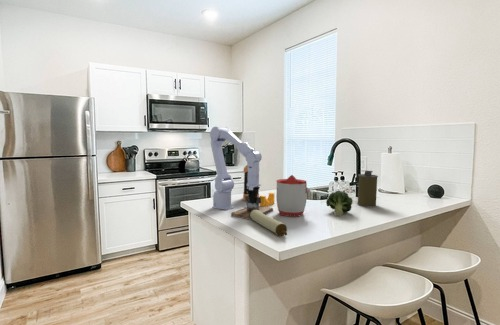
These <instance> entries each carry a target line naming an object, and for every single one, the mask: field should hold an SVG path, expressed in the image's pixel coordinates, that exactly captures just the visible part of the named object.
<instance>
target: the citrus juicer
mask: <svg viewBox="0 0 500 325" xmlns="http://www.w3.org/2000/svg"><path fill="white" fill-rule="evenodd" d="M275 181H276V197H275V198H276V205H277V210H278V213H279V214H280V215H281V216H282V217H301V216H302V215H303V214H304V212H305V209H306V204H307V197H308V196H307V194H308V193H312V191H311V189H310V188H309V187H307V180H304V179H298V178H297V177H295V176H294V175H293V174H291V175H289V176H288V177H287V178H283V179H281V178H280V179H276V180H275Z"/></svg>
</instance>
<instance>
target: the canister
mask: <svg viewBox="0 0 500 325" xmlns="http://www.w3.org/2000/svg"><path fill="white" fill-rule="evenodd" d="M373 172H374V170H365V171H364V174H363V173H361V174H360V173H358V174H357V175H356V176H357V180H356V186H357V203H356V204H357V206H359V207H363V208H364V207H366V208H375V207H377V193H378V192H377V190H378V189H377V188H378V177H379V176H378V175H377V174H372V173H373Z"/></svg>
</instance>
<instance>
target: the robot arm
mask: <svg viewBox="0 0 500 325" xmlns="http://www.w3.org/2000/svg"><path fill="white" fill-rule="evenodd" d="M209 136H210V147H211V151H212V155H213V160H214V164H215V170H216V174H217V175H216V176H215V178H214V182H215V183H214V188H215V190H216V191H214V193H213V196H212V197H213V198H212V200H213V201H212V202H213V204H212V208H213V209H219V210H226V211H228V210H230V209H232V208H234V207H235V205H232V191H233V189H234V187H235V183H234V181H233V178H232V176H231V175H230V174H229V173H228V170H227V165H226V161H225V156H224V152H223V146H222V145H223V143H224V142H226V141H229V142H230V143H231V144H233V145H234V147H237V151H238V153H240V154H241V155H242V156H243V157H244V158H245V161H246V165H248V184H247V186H248V187H249V189H247V192H248V195H249V199H250V203H255V198H256V197H257V194H258V191H259V190H260V187H262V183H260V162H261V160H262V154H261V152H260V151H258V150H255V151H254V149H255V148H254V147H251V146H250V145H249V143H248V142H247V141H246V142H245V141H241V140H240V139H239V138H238V137H237V136H236V134H234V132H232V130H231V129H230V128H229V127H227V126H213V127H212V128H211V130H210V132H209ZM253 148H254V149H253ZM257 186H259V187H257Z"/></svg>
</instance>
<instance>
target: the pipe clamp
mask: <svg viewBox="0 0 500 325" xmlns="http://www.w3.org/2000/svg"><path fill="white" fill-rule="evenodd" d="M259 197H261V203H259V206H262V207H269V206H272V205H274V204H275V193H274V192H269V193H268V197H266V195H259Z"/></svg>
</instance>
